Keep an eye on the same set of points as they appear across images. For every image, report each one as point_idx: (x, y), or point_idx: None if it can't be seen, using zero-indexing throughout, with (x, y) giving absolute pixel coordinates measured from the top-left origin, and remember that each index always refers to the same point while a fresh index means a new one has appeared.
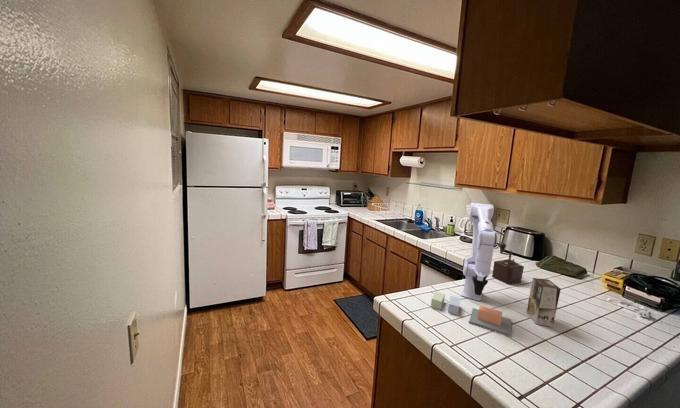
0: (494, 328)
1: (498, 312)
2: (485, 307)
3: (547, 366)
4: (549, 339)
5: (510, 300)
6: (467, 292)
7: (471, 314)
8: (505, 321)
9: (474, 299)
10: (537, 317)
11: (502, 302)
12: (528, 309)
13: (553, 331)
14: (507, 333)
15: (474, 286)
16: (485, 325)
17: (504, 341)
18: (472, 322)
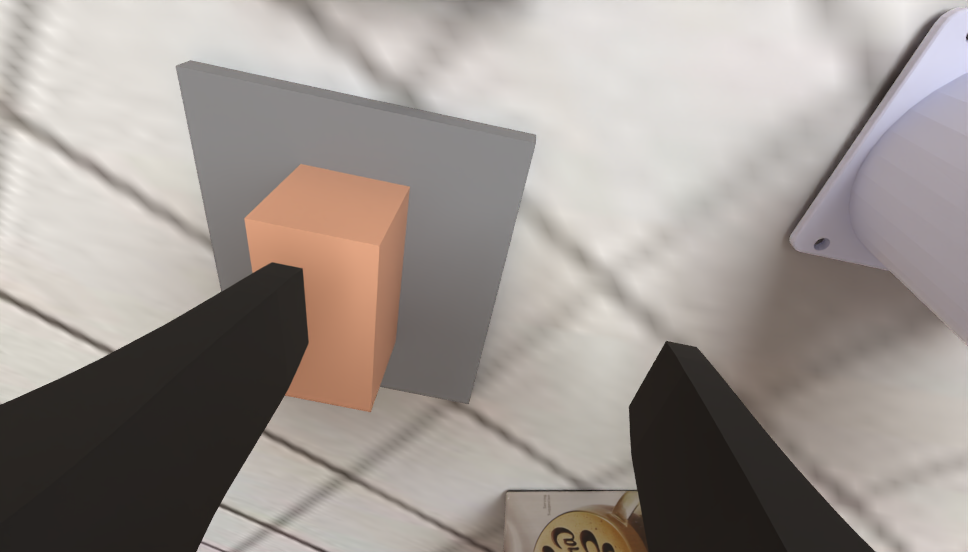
0: (231, 277)
1: (328, 381)
2: (357, 294)
3: None
4: (369, 491)
5: (848, 464)
6: (963, 118)
7: (355, 108)
8: (409, 367)
9: (822, 189)
10: (504, 539)
11: (798, 411)
12: (631, 528)
13: (470, 524)
14: None
15: (81, 368)
16: (223, 217)
17: (143, 301)
18: (186, 100)
